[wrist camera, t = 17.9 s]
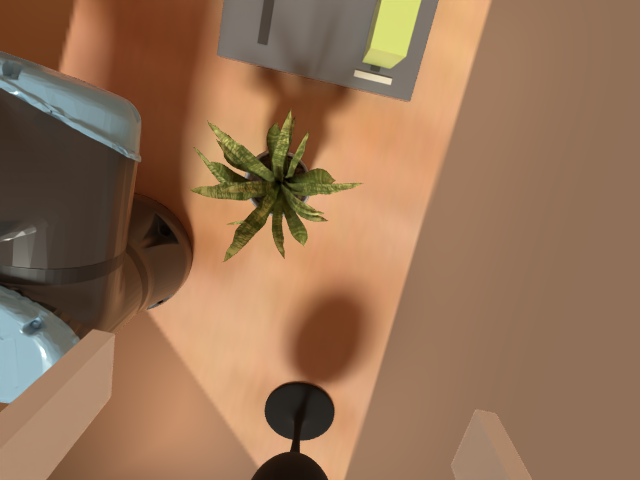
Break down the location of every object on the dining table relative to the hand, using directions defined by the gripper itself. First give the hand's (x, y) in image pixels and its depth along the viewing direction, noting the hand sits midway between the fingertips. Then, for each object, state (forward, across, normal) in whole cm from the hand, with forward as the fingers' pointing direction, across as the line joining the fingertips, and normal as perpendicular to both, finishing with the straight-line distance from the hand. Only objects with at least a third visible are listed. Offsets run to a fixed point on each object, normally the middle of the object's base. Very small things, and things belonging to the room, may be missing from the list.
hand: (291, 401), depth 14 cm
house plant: (+35, +4, -3) cm, 35 cm away
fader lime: (+32, -3, -18) cm, 37 cm away
